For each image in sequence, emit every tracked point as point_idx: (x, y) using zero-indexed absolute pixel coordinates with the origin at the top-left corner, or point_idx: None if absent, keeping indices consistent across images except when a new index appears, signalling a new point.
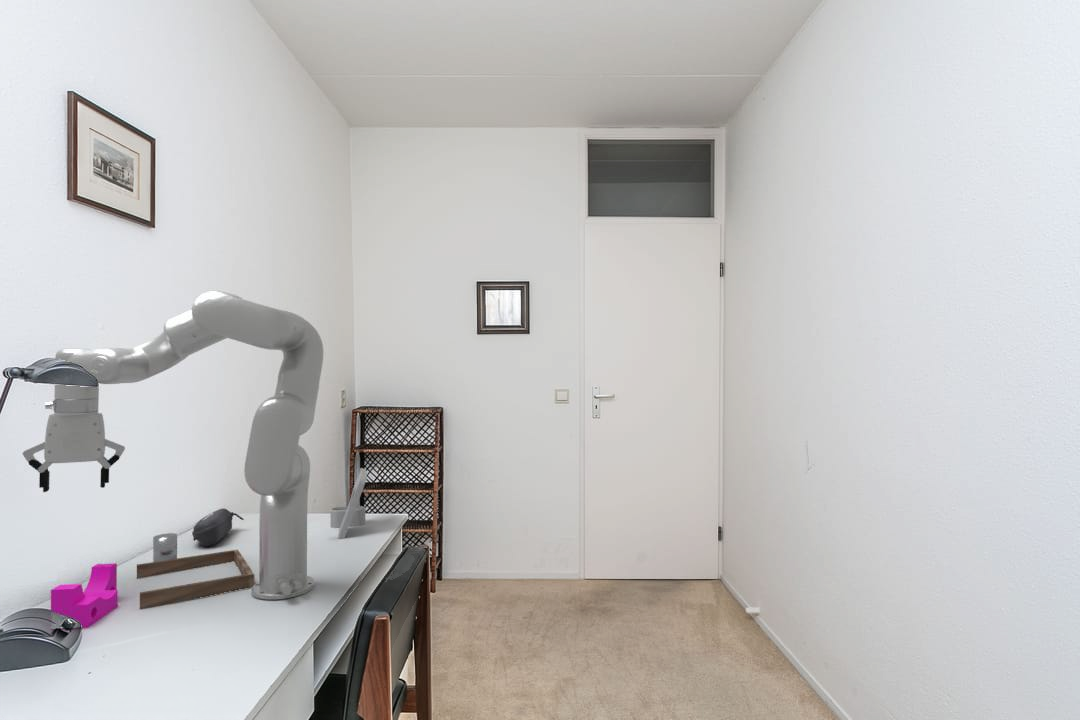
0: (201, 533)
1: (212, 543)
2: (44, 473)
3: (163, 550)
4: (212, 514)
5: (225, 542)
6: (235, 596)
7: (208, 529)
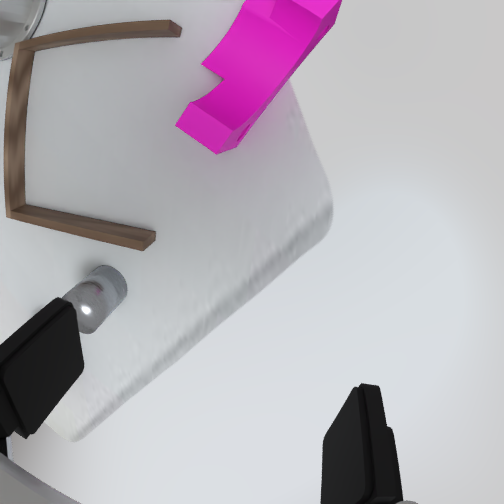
0: None
1: None
2: (389, 492)
3: (93, 283)
4: None
5: None
6: (58, 17)
7: None
